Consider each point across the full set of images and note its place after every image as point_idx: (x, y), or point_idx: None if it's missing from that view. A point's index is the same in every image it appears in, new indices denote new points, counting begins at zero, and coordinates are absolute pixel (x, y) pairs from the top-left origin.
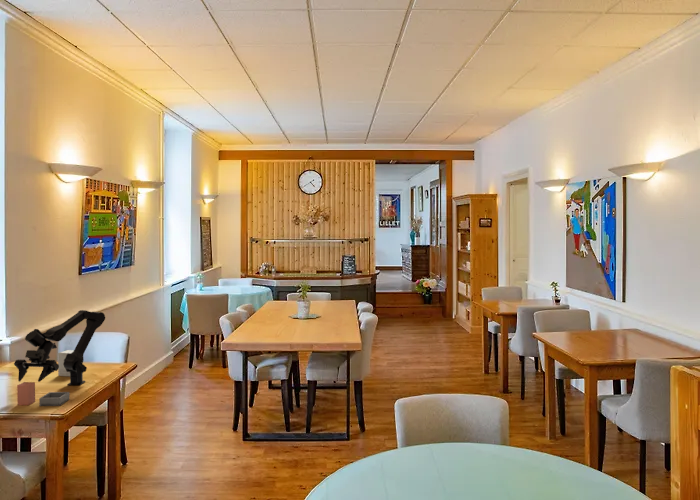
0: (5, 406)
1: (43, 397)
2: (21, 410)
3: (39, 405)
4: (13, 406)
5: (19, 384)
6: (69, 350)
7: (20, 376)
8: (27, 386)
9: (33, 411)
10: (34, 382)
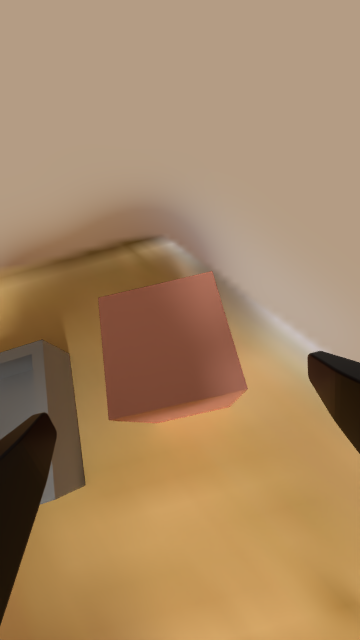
0: (254, 300)
1: (36, 375)
2: (117, 278)
3: (66, 352)
4: None
5: (212, 296)
6: None
7: (350, 382)
8: (107, 300)
9: (50, 284)
10: (108, 410)
